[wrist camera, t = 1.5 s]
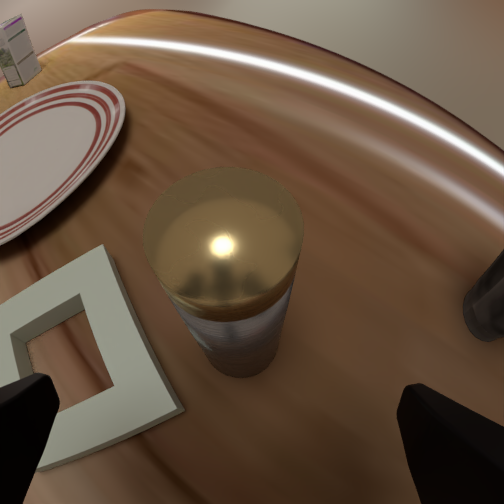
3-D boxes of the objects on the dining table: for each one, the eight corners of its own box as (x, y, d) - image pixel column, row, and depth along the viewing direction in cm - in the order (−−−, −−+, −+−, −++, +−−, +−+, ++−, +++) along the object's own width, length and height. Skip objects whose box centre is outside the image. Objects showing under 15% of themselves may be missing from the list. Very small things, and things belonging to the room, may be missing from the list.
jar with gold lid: (291, 353, 18) (336, 245, 8) (228, 391, 17) (184, 333, 7) (252, 297, 20) (248, 149, 10) (192, 330, 19) (123, 206, 9)
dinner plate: (150, 81, 36) (145, 60, 33) (99, 263, 22) (80, 239, 19) (-1, 123, 36) (-9, 108, 33) (-76, 274, 21) (-93, 260, 19)
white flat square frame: (185, 410, 17) (177, 408, 15) (40, 472, 13) (23, 472, 12) (113, 258, 22) (102, 243, 20) (-3, 326, 19) (-18, 316, 17)
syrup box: (43, 69, 45) (23, 12, 32) (23, 86, 42) (0, 26, 29) (27, 73, 45) (7, 19, 33) (8, 89, 42) (-14, 33, 30)
